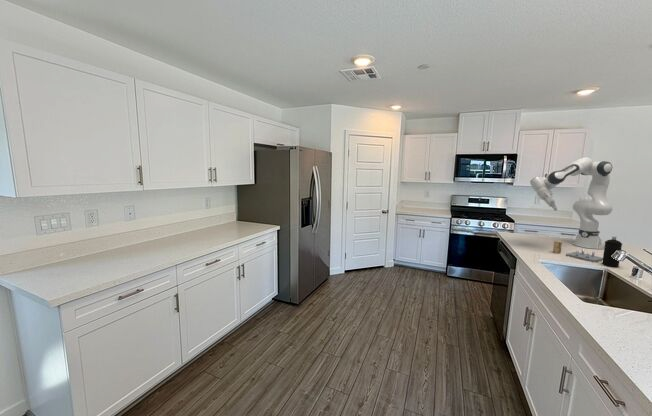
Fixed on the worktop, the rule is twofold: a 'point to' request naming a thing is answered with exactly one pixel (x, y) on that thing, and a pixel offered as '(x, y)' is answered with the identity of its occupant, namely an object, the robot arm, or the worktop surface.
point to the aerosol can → (611, 252)
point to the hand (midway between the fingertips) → (556, 209)
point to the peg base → (585, 256)
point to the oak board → (557, 247)
